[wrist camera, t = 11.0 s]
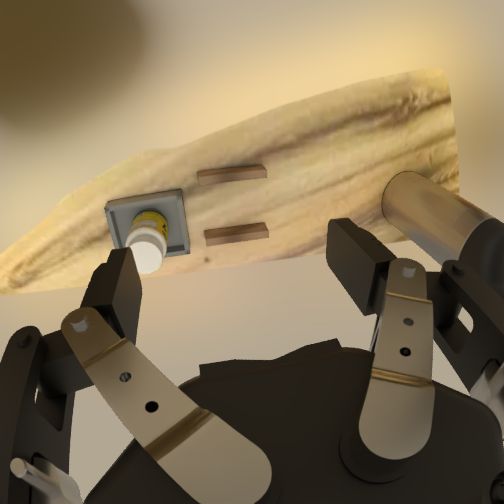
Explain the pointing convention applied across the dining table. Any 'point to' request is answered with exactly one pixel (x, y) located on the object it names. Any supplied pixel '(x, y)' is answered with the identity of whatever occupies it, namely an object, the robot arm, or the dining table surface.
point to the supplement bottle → (148, 240)
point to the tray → (165, 202)
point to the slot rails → (237, 231)
